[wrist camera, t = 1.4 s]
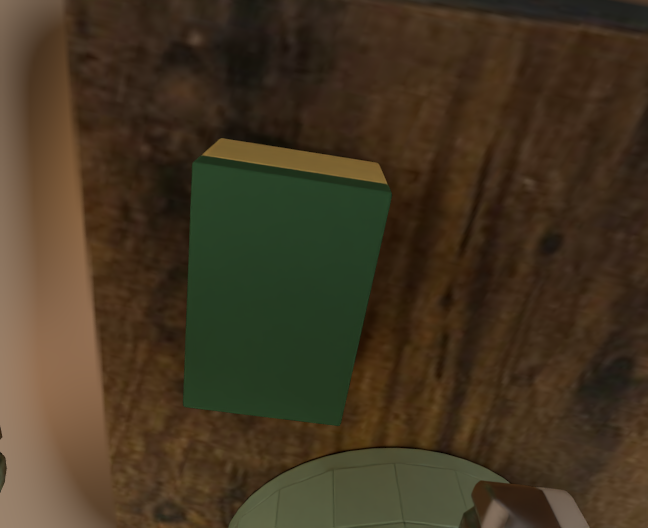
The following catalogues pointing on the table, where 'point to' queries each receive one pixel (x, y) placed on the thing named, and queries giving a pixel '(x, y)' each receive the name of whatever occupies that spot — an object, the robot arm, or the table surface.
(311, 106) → the table surface
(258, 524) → the bowl
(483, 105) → the table surface
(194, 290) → the sponge
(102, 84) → the table surface
